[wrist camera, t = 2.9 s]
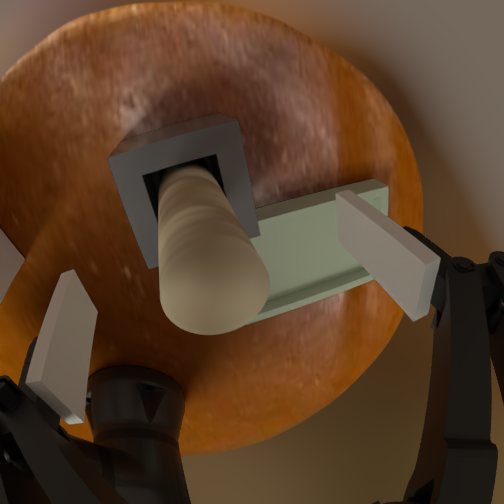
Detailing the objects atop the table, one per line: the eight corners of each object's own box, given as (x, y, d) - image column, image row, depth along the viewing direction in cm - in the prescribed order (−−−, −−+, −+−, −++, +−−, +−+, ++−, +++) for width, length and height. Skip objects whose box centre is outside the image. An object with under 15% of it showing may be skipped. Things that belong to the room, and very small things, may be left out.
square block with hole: (150, 230, 29) (148, 269, 23) (120, 141, 24) (107, 158, 18) (239, 203, 30) (260, 235, 24) (220, 112, 25) (238, 120, 20)
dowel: (166, 205, 27) (180, 346, 13) (153, 159, 25) (143, 265, 11) (214, 191, 28) (276, 316, 14) (202, 144, 25) (260, 229, 11)
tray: (240, 309, 37) (246, 324, 35) (217, 219, 30) (222, 231, 28) (372, 264, 39) (383, 275, 37) (374, 178, 33) (388, 186, 31)
